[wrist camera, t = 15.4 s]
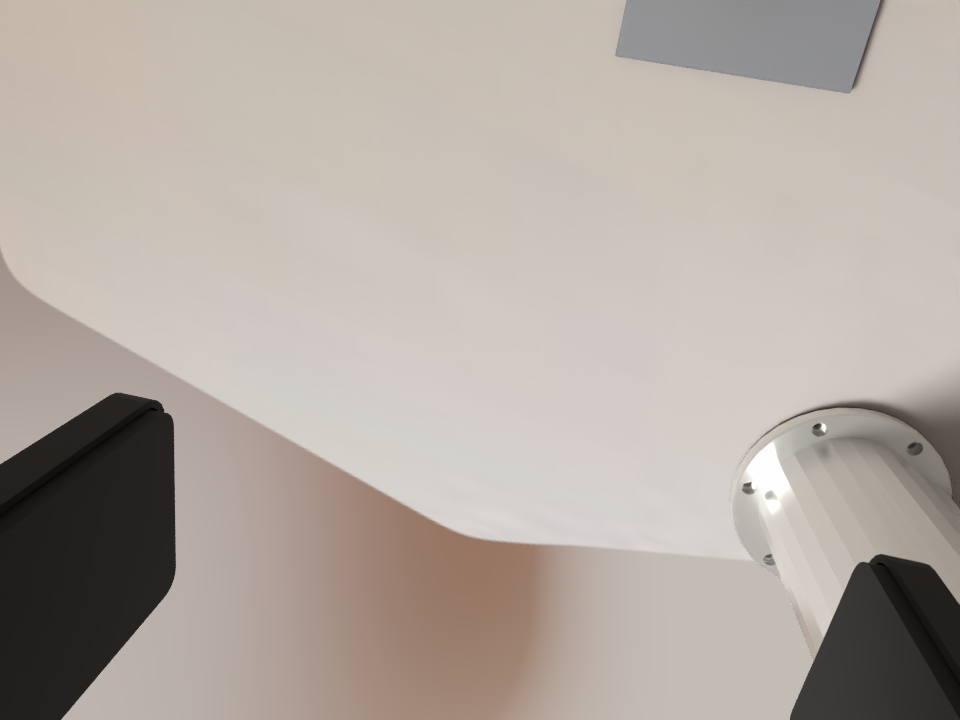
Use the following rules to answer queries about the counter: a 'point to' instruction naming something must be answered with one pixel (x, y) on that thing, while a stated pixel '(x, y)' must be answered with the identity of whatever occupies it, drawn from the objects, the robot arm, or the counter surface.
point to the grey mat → (753, 37)
